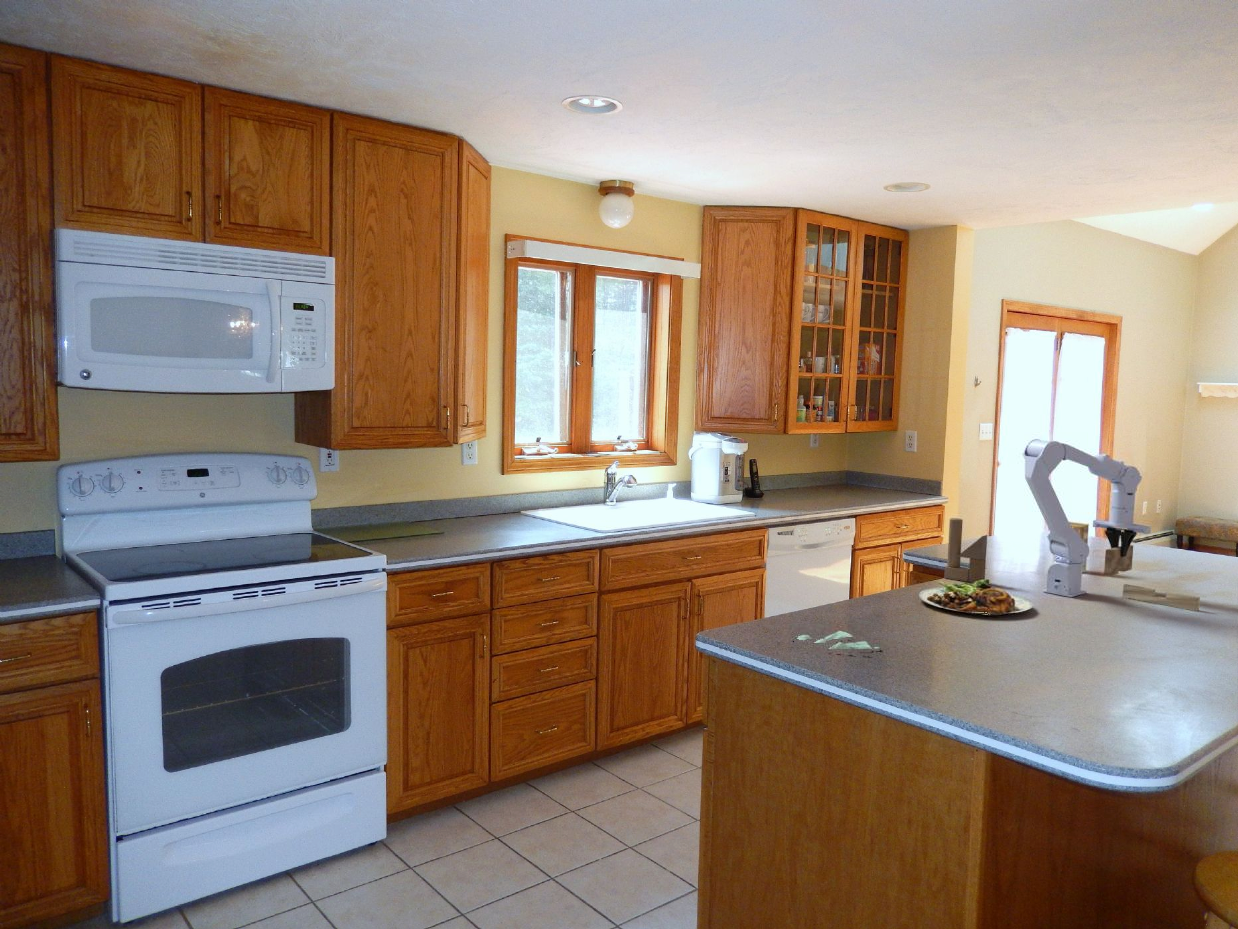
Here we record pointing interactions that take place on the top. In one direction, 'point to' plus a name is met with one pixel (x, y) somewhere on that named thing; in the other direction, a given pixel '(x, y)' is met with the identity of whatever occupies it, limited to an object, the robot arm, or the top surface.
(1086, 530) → the candy box
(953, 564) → the wooden block
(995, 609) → the plate of food
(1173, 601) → the birch board
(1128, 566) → the wooden plank
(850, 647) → the cloth
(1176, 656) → the top surface
